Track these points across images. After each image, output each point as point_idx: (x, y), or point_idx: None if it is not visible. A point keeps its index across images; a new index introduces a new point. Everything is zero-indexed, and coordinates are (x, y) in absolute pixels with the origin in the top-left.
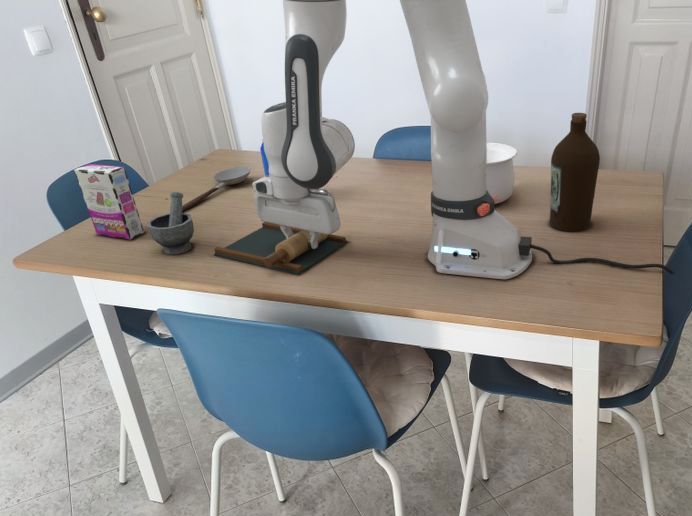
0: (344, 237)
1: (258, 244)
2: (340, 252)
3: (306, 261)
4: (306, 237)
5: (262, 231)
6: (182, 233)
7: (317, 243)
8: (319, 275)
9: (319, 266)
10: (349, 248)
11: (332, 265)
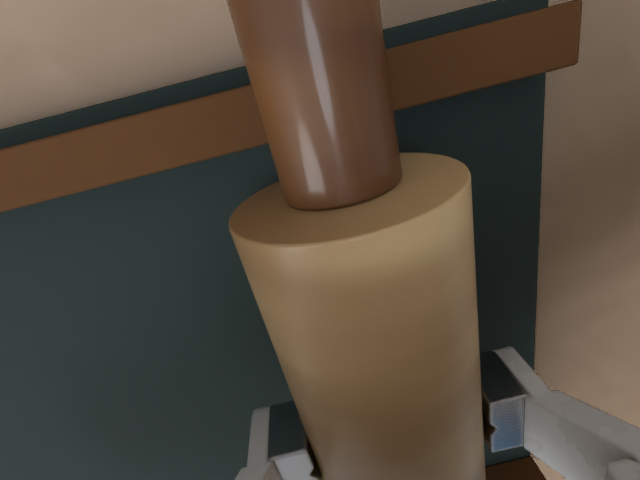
0: (574, 16)
1: (30, 463)
2: (581, 183)
3: None
4: (482, 464)
5: None
6: None
7: (523, 363)
8: (617, 417)
9: (563, 373)
10: (614, 82)
11: (627, 328)
